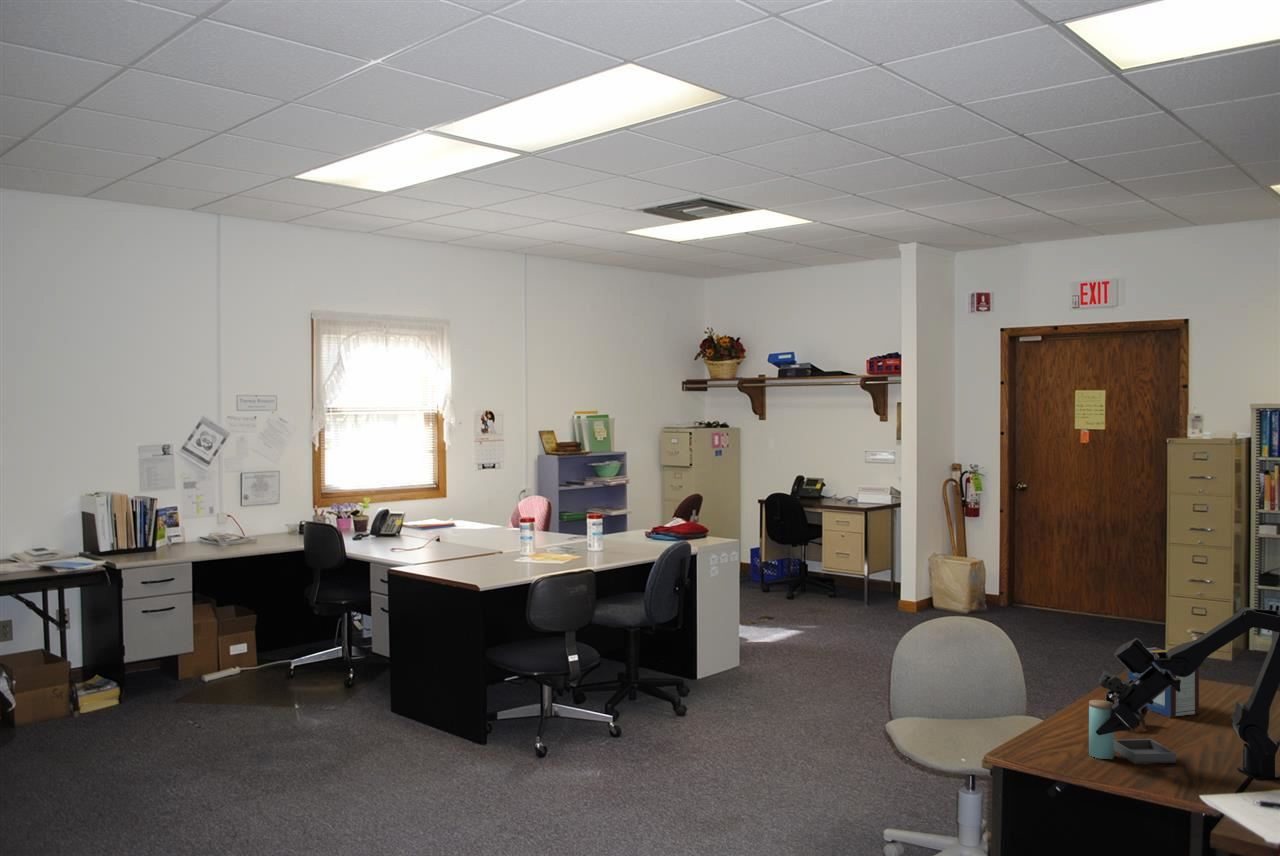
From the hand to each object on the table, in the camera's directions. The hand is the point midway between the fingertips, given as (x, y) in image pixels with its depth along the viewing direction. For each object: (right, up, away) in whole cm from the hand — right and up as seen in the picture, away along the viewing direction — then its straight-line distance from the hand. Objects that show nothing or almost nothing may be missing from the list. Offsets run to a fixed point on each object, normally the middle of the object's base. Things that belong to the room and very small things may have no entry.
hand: (1095, 727), depth 236 cm
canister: (+1, -7, 0) cm, 7 cm away
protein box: (+37, -7, +38) cm, 53 cm away
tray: (+11, -7, -1) cm, 13 cm away
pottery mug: (+20, -7, +23) cm, 31 cm away
